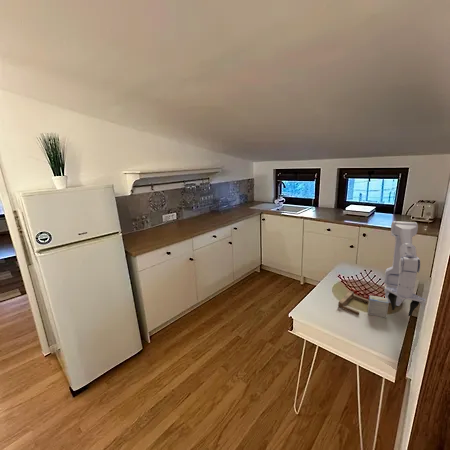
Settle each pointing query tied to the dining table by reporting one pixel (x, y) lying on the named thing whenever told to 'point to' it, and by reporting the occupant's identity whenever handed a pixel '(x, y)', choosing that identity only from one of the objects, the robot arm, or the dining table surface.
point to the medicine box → (378, 306)
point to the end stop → (348, 298)
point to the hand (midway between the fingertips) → (401, 311)
